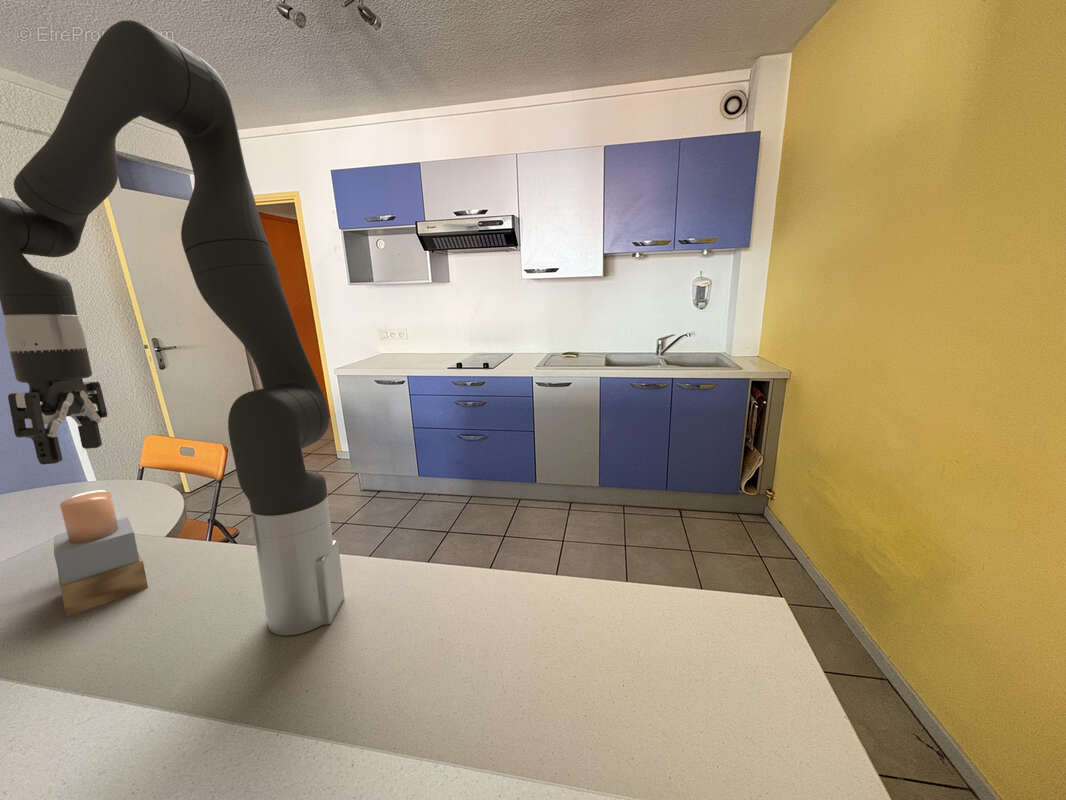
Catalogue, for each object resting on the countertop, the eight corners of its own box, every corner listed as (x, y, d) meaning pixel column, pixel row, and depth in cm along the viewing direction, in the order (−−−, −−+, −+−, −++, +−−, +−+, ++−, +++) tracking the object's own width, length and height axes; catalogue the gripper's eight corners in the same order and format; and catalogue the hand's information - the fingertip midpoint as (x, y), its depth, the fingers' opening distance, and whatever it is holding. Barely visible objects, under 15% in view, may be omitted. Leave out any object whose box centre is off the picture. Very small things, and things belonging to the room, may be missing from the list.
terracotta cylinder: (127, 525, 70) (120, 490, 69) (98, 541, 65) (90, 504, 64) (90, 527, 69) (82, 493, 68) (57, 545, 64) (48, 507, 63)
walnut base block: (139, 569, 75) (133, 543, 74) (148, 589, 69) (142, 560, 68) (63, 594, 68) (57, 566, 68) (67, 618, 63) (60, 587, 62)
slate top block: (133, 544, 74) (127, 517, 73) (139, 561, 68) (133, 532, 68) (60, 565, 68) (53, 535, 67) (61, 585, 62) (53, 554, 61)
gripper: (43, 348, 56) (70, 466, 59) (112, 344, 70) (131, 440, 72) (-33, 350, 54) (-1, 473, 57) (54, 346, 67) (76, 445, 70)
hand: (73, 454), depth 65 cm, fingers open, 8 cm apart
